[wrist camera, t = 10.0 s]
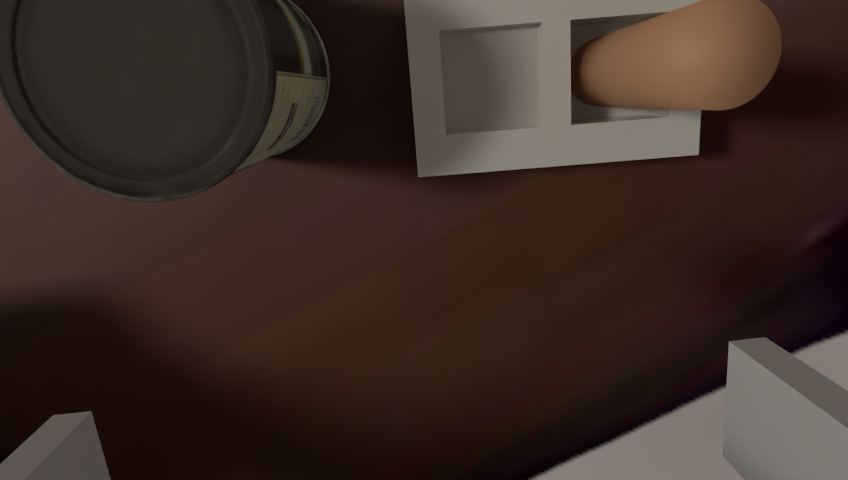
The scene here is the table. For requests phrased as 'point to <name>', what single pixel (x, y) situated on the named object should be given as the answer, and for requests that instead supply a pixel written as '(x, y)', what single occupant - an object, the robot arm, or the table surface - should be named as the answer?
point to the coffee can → (160, 88)
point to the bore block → (526, 87)
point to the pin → (682, 59)
